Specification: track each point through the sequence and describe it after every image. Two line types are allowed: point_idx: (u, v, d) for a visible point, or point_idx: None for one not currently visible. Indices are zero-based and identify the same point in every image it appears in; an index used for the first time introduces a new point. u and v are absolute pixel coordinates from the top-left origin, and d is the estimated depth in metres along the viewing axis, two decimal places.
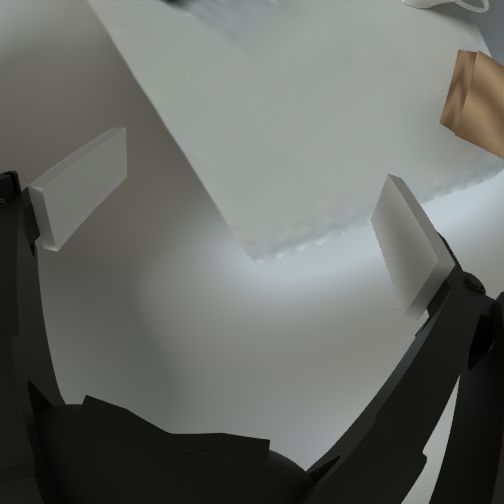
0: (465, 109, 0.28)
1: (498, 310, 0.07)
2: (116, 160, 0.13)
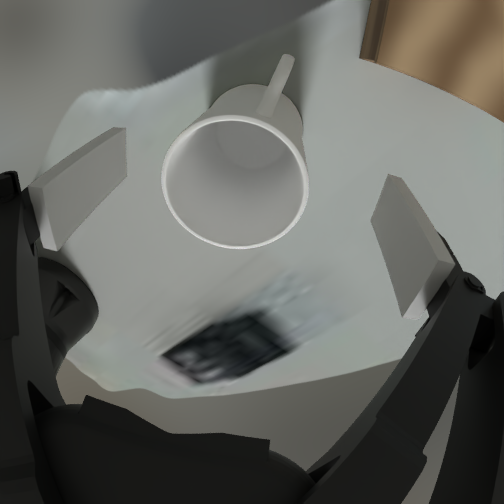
0: (476, 105, 0.16)
1: (498, 310, 0.07)
2: (116, 160, 0.13)
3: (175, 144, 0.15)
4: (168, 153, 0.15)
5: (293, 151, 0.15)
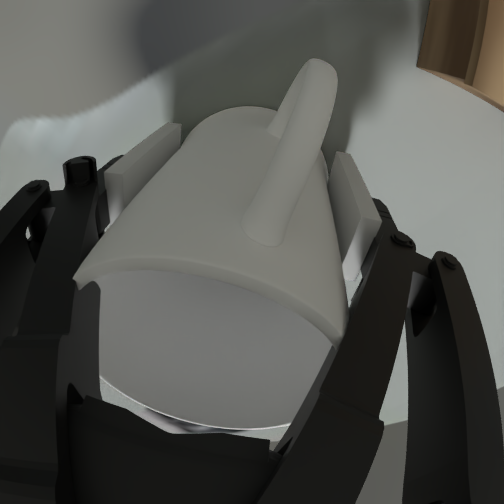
0: None
1: (435, 272, 0.08)
2: (173, 154, 0.15)
3: None
4: None
5: (332, 340, 0.06)
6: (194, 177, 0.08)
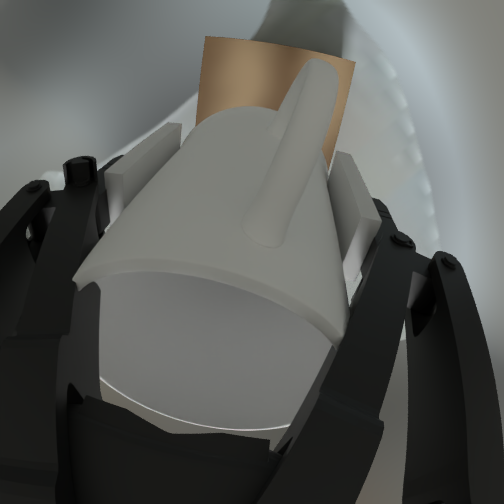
0: None
1: (435, 272, 0.08)
2: (173, 154, 0.15)
3: None
4: None
5: (333, 342, 0.06)
6: (194, 177, 0.08)
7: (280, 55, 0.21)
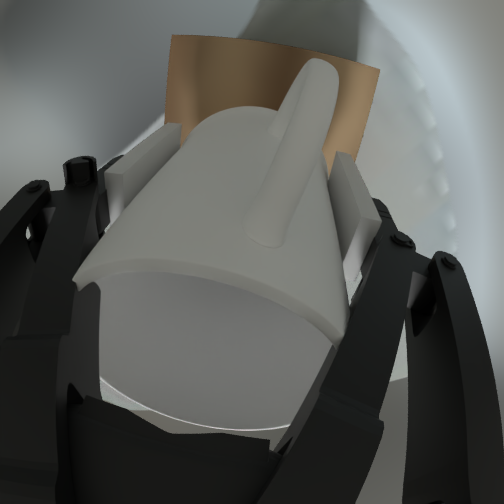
0: None
1: (435, 272, 0.08)
2: (173, 154, 0.15)
3: None
4: None
5: (333, 342, 0.06)
6: (194, 177, 0.08)
7: (275, 59, 0.15)
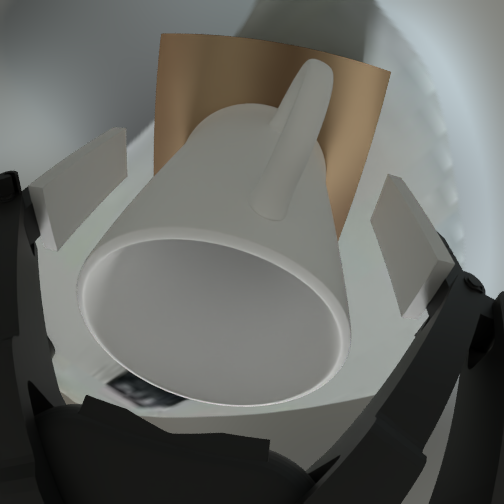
0: None
1: (498, 310, 0.07)
2: (116, 160, 0.13)
3: (86, 272, 0.07)
4: (80, 283, 0.07)
5: (329, 305, 0.07)
6: (204, 164, 0.09)
7: (275, 59, 0.14)
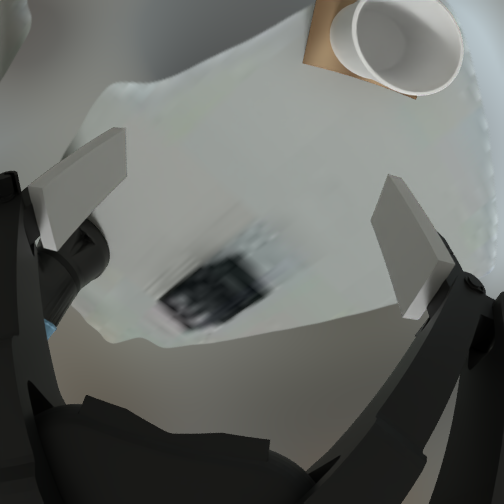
0: (383, 86, 0.26)
1: (498, 310, 0.07)
2: (116, 160, 0.13)
3: None
4: None
5: (455, 23, 0.12)
6: None
7: None
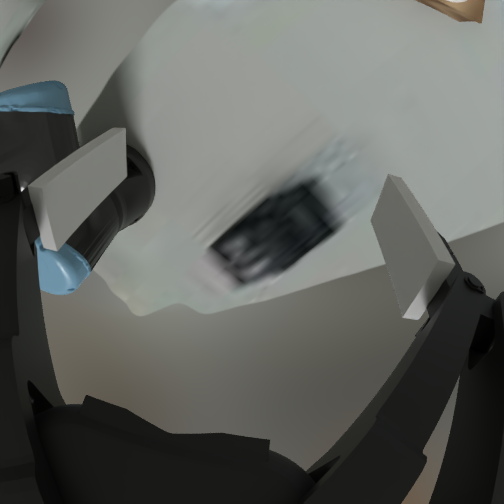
0: (457, 8, 0.20)
1: (498, 310, 0.07)
2: (116, 160, 0.13)
3: None
4: None
5: None
6: None
7: None
